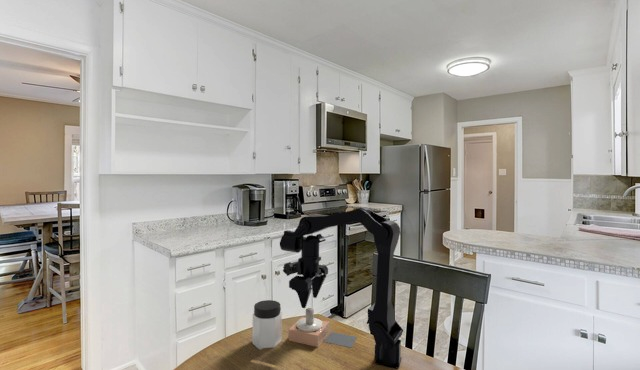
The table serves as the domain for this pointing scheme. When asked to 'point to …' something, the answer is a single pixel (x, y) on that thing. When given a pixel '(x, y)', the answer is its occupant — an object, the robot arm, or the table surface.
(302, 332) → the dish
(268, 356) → the table surface
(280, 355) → the table surface
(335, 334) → the mat
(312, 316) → the lid
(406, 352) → the table surface
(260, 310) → the jar
